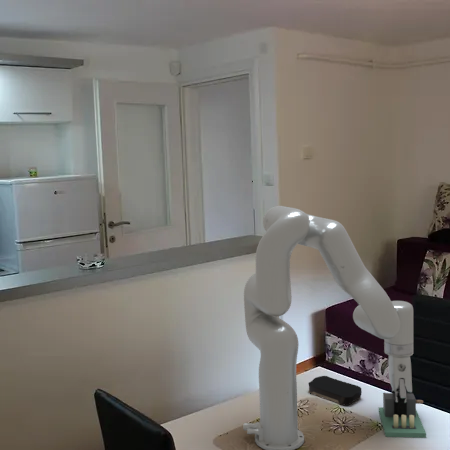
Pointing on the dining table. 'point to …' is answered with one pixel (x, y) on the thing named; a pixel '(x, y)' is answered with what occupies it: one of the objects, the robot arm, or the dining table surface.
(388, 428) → the header board
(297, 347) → the robot arm
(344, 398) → the black sponge
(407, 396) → the plug housing
